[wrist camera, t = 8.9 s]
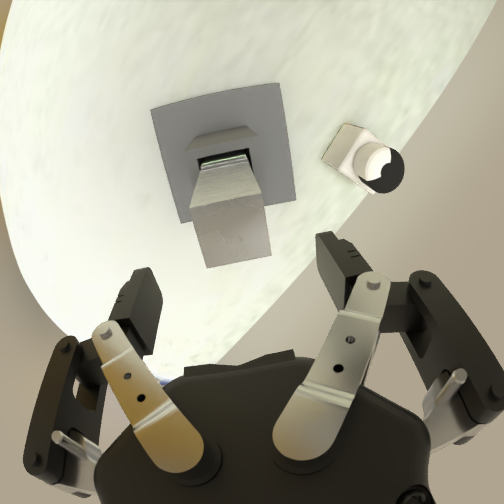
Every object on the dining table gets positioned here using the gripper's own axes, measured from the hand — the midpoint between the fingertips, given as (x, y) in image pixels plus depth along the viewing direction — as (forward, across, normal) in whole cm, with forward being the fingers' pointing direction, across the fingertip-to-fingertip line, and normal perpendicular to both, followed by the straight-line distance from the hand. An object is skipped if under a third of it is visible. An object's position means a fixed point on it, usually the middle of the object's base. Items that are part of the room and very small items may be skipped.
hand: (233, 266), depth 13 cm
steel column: (+22, 0, 0) cm, 22 cm away
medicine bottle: (+30, -19, +3) cm, 36 cm away
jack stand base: (+30, 0, 0) cm, 30 cm away
